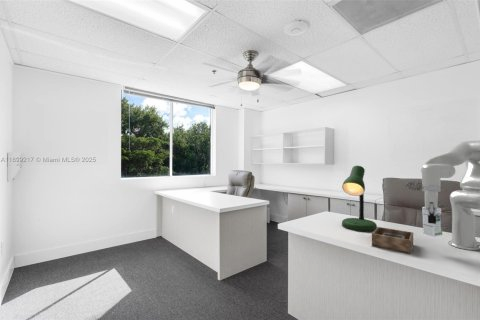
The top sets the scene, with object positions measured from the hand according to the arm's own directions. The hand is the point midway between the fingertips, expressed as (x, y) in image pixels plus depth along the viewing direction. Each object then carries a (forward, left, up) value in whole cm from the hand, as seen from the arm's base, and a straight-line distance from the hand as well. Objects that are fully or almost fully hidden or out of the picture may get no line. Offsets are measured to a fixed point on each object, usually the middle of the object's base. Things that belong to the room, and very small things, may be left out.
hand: (432, 221), depth 123 cm
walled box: (+17, +1, -17) cm, 24 cm away
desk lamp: (+41, -22, -17) cm, 50 cm away
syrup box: (0, 0, -7) cm, 7 cm away
